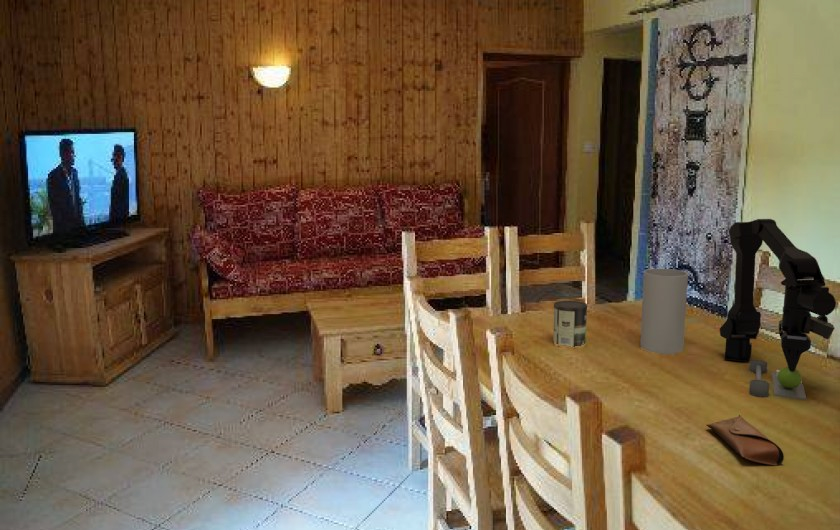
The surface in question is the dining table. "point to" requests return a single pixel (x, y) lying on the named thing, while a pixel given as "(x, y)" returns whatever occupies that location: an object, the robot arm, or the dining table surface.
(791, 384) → the green bulbous piece
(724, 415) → the dining table surface
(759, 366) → the gray dumbbell
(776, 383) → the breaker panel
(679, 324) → the cylinder vase
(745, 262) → the robot arm
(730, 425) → the sunglasses case
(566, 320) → the coffee can
